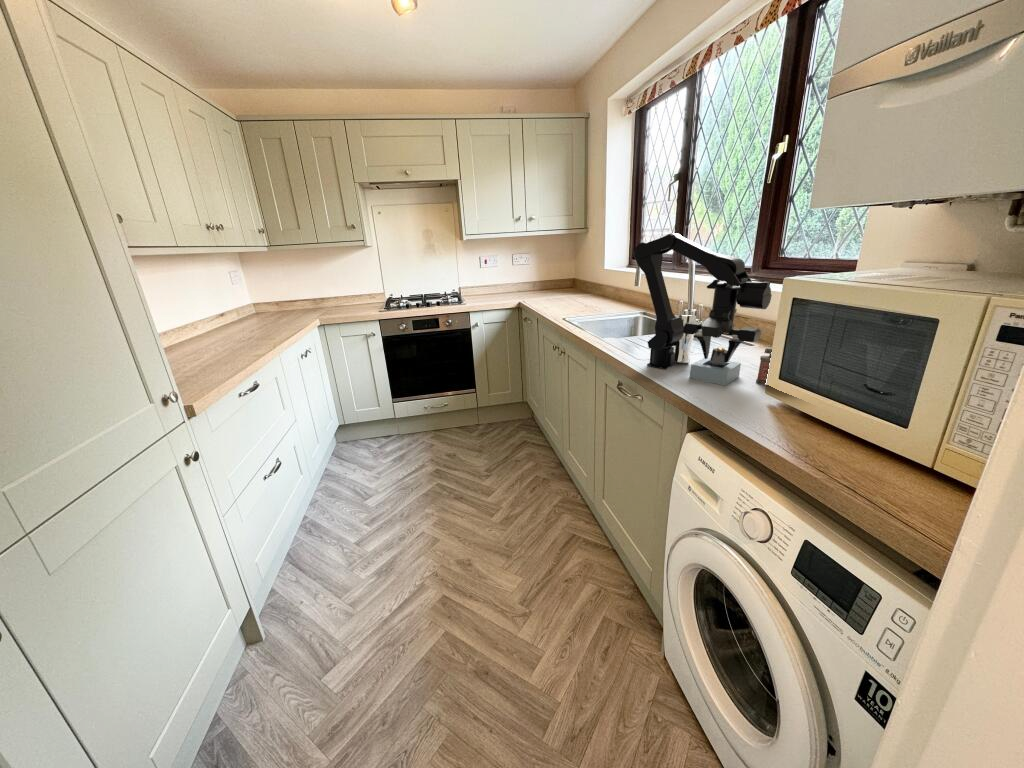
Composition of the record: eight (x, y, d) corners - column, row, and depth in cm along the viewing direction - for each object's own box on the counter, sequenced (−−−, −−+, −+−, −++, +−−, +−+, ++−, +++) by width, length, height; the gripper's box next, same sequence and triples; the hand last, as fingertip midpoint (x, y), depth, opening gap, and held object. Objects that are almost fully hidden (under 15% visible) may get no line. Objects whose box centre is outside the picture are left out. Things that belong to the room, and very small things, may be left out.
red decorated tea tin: (790, 384, 107) (798, 349, 104) (790, 388, 104) (798, 352, 101) (756, 380, 111) (762, 346, 108) (755, 384, 109) (761, 348, 105)
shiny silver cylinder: (687, 360, 132) (693, 315, 129) (693, 363, 125) (700, 315, 122) (665, 359, 133) (671, 314, 130) (671, 362, 126) (676, 314, 123)
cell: (704, 374, 115) (711, 348, 111) (710, 370, 117) (716, 345, 114) (718, 378, 112) (725, 352, 109) (724, 374, 115) (731, 348, 111)
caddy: (689, 377, 115) (691, 364, 114) (703, 369, 122) (705, 357, 120) (725, 385, 108) (727, 371, 107) (738, 376, 115) (741, 363, 113)
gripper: (677, 306, 109) (671, 360, 115) (751, 313, 96) (741, 373, 102) (694, 302, 116) (688, 352, 122) (766, 307, 103) (756, 364, 109)
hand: (716, 360), depth 113 cm, fingers open, 5 cm apart
